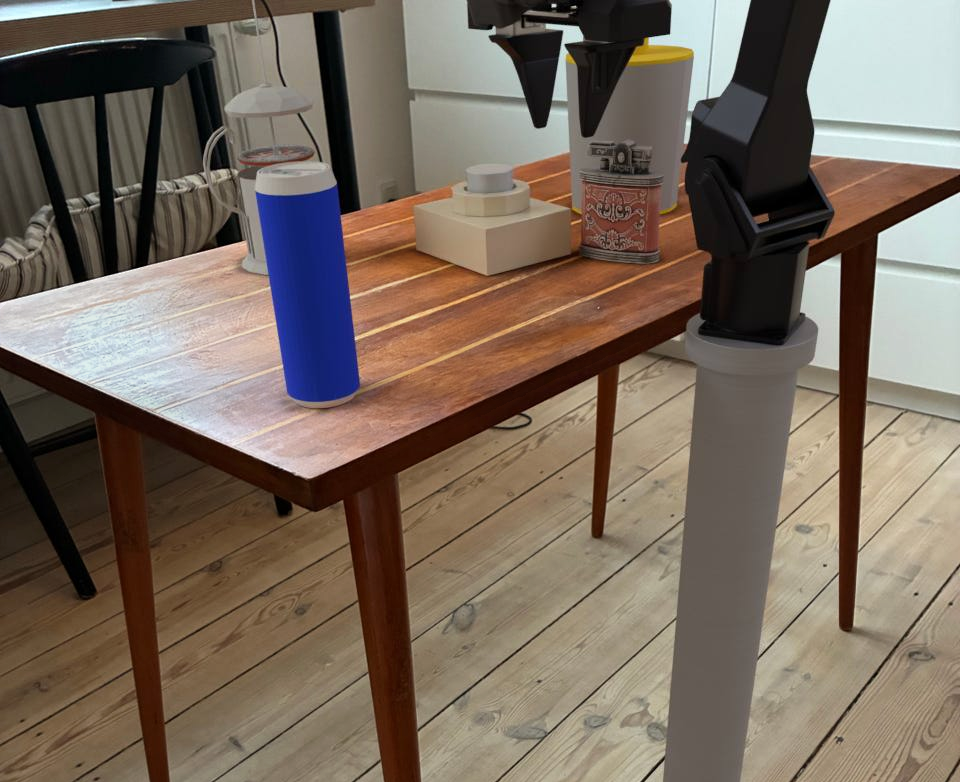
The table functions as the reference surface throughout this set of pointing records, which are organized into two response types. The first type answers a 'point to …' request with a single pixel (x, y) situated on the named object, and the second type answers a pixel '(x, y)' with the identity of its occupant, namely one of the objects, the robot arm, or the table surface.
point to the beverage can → (308, 281)
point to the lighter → (620, 204)
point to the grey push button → (489, 178)
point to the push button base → (493, 229)
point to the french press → (259, 154)
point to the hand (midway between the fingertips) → (563, 132)
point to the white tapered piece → (638, 115)
